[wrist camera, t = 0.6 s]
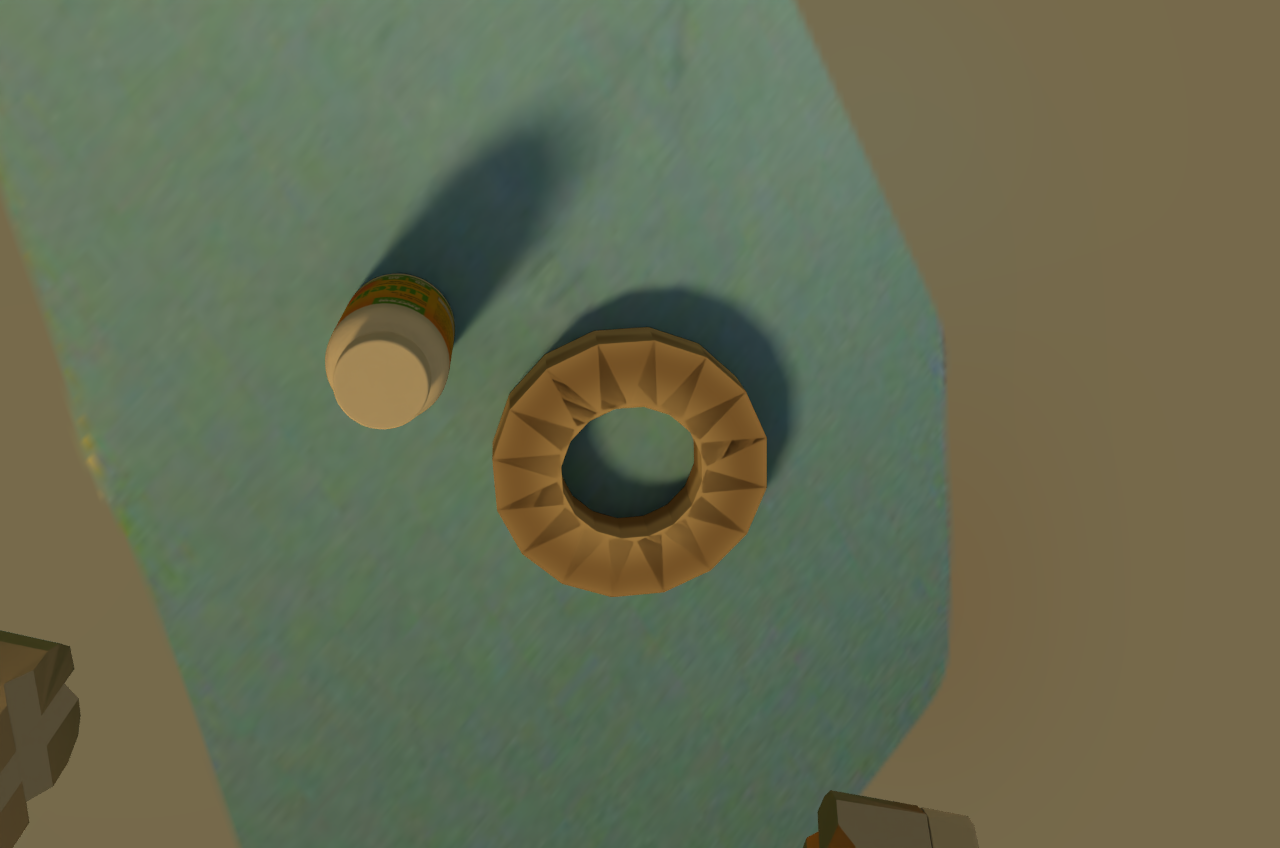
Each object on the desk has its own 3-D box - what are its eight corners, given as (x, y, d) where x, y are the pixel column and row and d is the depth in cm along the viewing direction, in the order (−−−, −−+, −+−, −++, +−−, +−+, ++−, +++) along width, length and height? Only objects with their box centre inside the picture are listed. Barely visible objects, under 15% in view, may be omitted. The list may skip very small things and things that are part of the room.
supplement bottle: (443, 262, 54) (431, 312, 45) (465, 366, 56) (458, 433, 47) (333, 281, 54) (299, 334, 45) (359, 384, 56) (332, 455, 47)
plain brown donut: (483, 338, 56) (482, 352, 54) (755, 319, 57) (766, 332, 55) (505, 584, 61) (506, 607, 58) (756, 561, 62) (766, 582, 60)
